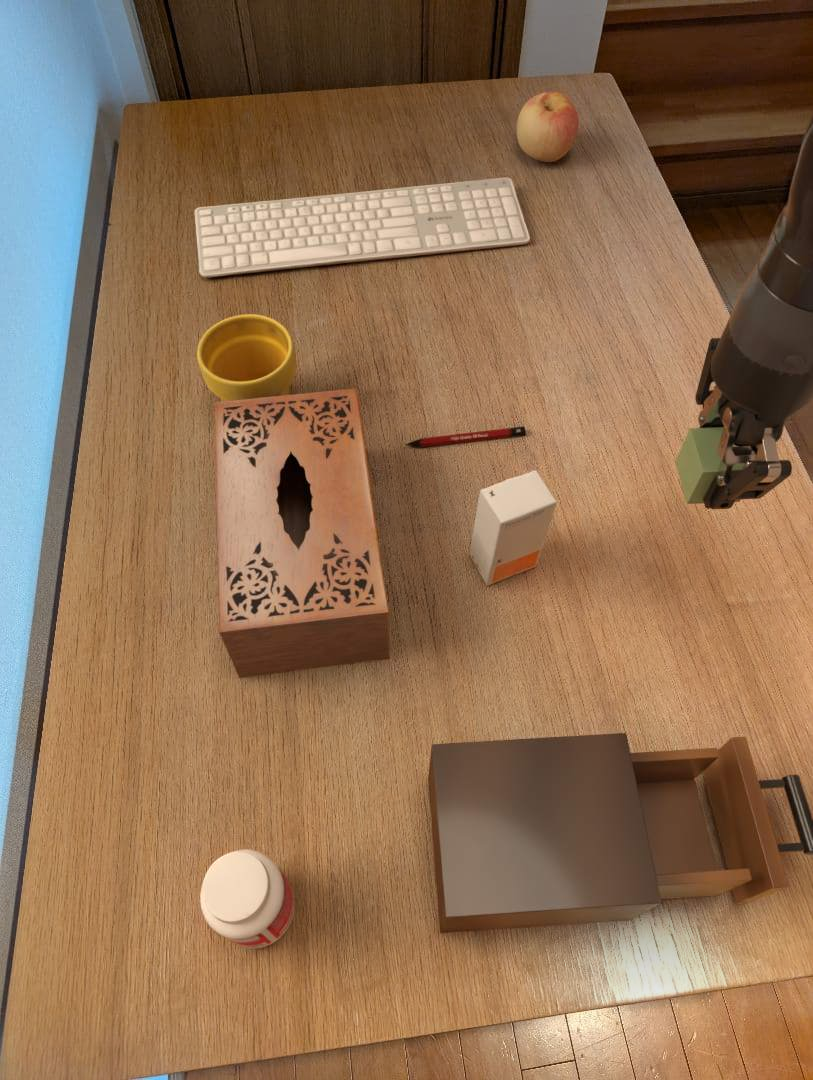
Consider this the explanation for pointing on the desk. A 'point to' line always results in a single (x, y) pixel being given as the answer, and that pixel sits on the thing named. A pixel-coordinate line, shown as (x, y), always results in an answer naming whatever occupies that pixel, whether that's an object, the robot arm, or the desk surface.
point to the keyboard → (358, 227)
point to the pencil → (468, 437)
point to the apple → (547, 126)
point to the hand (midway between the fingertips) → (708, 479)
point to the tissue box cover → (297, 535)
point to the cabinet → (538, 833)
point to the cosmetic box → (511, 526)
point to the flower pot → (247, 358)
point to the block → (700, 462)
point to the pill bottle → (247, 899)
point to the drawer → (738, 818)
